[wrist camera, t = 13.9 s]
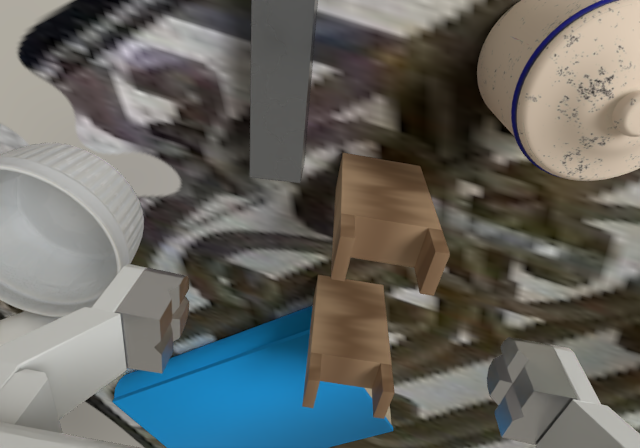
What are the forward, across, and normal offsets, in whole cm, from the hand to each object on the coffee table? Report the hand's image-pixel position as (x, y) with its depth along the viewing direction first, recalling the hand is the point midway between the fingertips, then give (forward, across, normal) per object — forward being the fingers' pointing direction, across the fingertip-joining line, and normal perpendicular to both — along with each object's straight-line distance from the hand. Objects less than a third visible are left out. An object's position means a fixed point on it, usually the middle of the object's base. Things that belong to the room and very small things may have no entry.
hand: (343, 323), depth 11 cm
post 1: (+23, -3, +6) cm, 24 cm away
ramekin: (+22, +21, +14) cm, 33 cm away
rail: (+23, +5, -1) cm, 23 cm away
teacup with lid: (+23, -13, -5) cm, 27 cm away
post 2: (+22, -3, +18) cm, 29 cm away
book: (+23, +4, +34) cm, 41 cm away
